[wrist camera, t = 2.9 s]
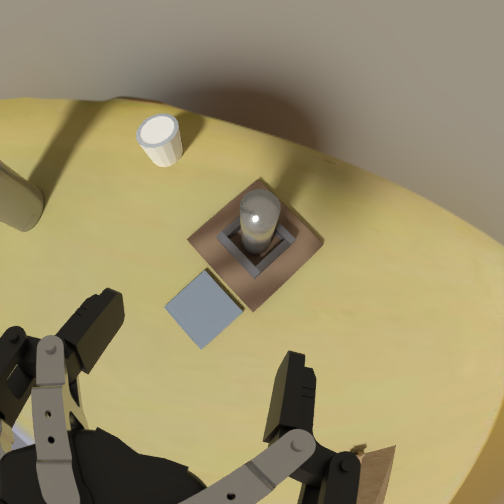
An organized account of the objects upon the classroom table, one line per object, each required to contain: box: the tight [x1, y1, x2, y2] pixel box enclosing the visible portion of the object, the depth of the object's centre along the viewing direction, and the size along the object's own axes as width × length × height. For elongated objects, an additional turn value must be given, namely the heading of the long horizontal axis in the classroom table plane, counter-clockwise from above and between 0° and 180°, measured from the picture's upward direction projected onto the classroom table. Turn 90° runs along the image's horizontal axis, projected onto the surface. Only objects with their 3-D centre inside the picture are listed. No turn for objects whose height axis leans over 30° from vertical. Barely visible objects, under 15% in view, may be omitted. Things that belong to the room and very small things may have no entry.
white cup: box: [136, 114, 183, 167], centre depth 41 cm, size 7×7×7 cm
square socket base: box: [187, 180, 324, 312], centre depth 40 cm, size 14×14×3 cm
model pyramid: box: [356, 445, 396, 504], centre depth 28 cm, size 17×17×10 cm
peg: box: [240, 189, 281, 255], centre depth 34 cm, size 4×4×13 cm
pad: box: [165, 270, 243, 349], centre depth 39 cm, size 8×8×1 cm
